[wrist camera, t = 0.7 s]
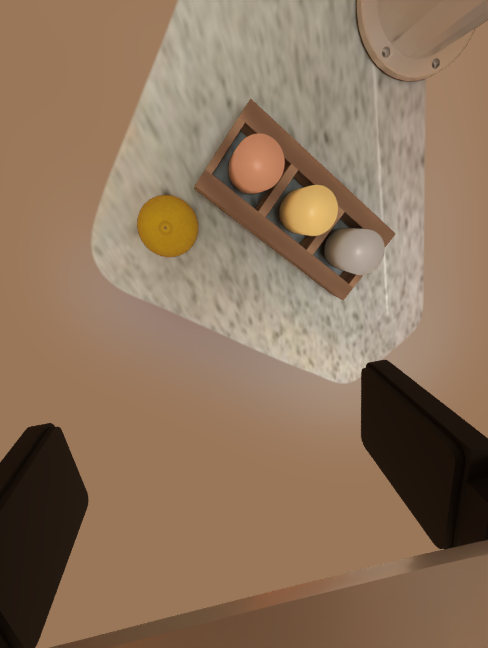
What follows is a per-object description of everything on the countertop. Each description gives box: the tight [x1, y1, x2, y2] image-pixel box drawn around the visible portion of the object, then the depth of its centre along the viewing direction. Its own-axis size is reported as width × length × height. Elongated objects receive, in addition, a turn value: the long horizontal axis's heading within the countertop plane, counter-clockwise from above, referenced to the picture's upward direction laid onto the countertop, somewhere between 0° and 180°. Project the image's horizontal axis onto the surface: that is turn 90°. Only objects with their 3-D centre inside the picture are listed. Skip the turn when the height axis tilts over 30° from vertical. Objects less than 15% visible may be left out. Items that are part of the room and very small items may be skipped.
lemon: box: [137, 195, 198, 257], centre depth 30 cm, size 6×6×8 cm
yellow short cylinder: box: [279, 185, 338, 236], centre depth 31 cm, size 4×4×4 cm
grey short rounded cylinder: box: [324, 228, 385, 275], centre depth 33 cm, size 4×4×4 cm
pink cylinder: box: [228, 133, 285, 194], centre depth 29 cm, size 4×4×4 cm
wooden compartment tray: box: [194, 99, 395, 300], centre depth 34 cm, size 9×20×3 cm, turn 54°
